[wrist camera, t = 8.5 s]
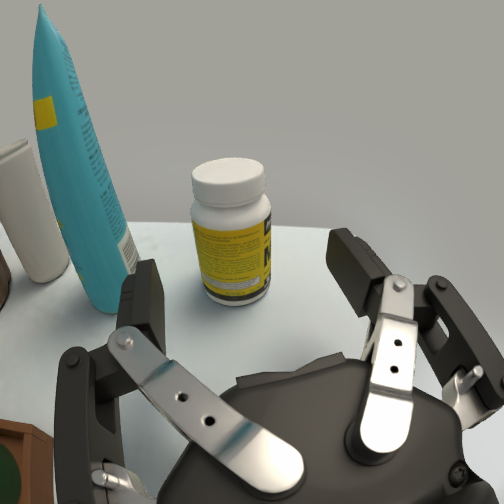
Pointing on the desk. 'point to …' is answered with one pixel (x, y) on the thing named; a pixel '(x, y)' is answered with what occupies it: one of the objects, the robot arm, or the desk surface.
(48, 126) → the tube
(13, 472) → the green bottle
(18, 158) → the beverage can
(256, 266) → the supplement bottle
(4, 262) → the plant pot
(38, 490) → the serving tray
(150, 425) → the desk surface
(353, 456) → the robot arm
